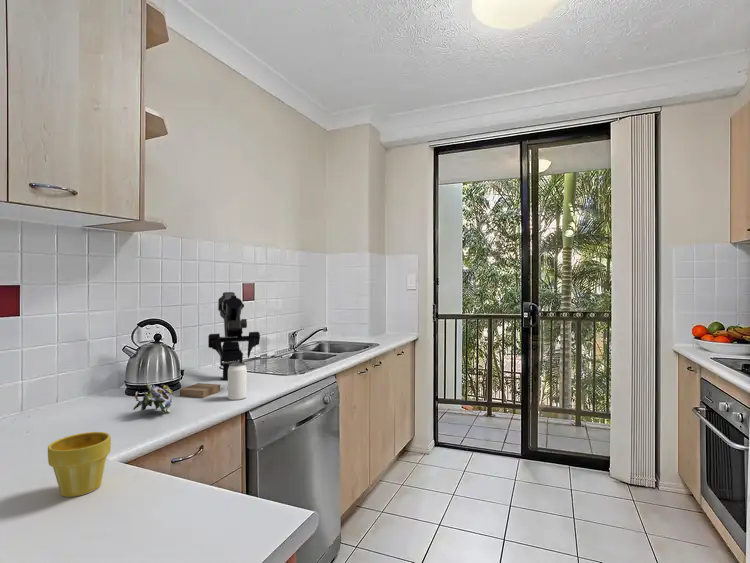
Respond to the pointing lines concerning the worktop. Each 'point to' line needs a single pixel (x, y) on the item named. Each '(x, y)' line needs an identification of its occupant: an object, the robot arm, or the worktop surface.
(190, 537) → the worktop surface
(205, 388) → the walnut block
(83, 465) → the plant pot
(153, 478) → the worktop surface
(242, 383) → the can
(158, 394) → the passion flower
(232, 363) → the robot arm
